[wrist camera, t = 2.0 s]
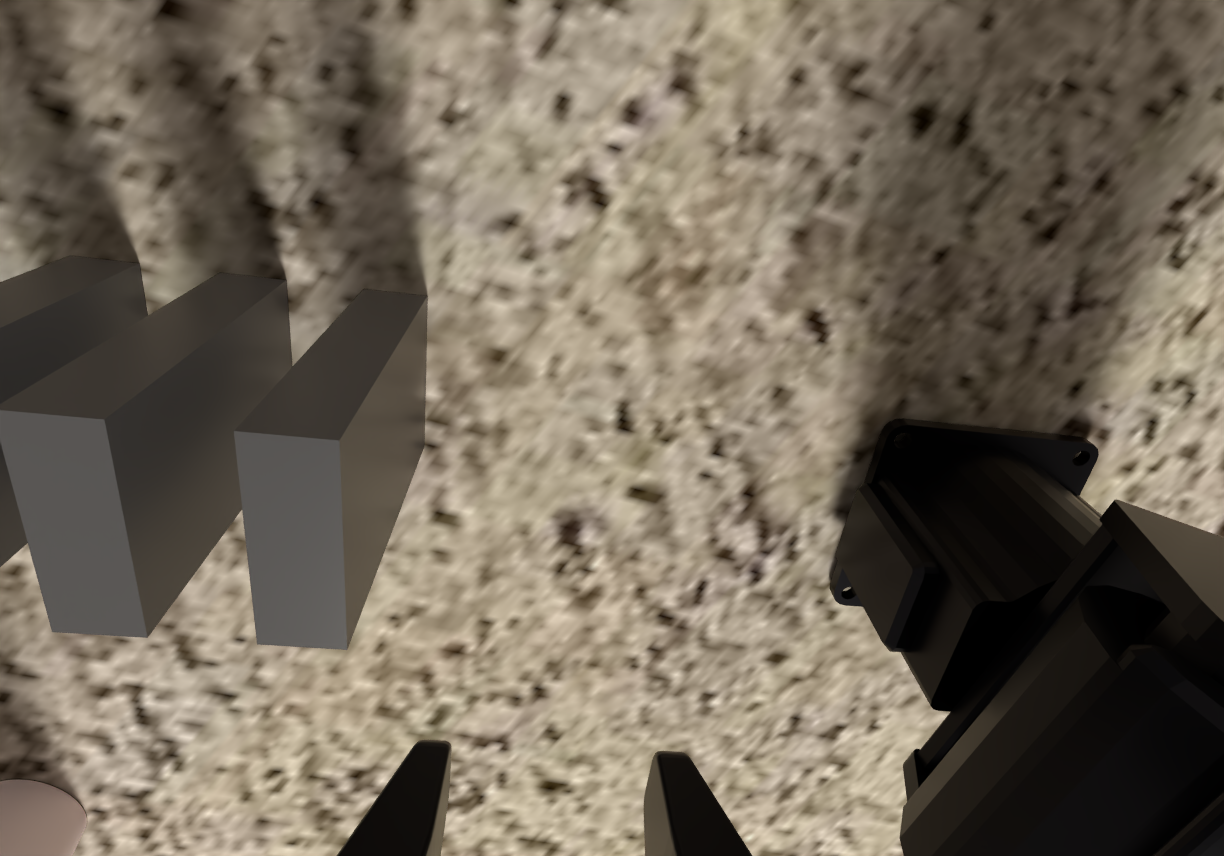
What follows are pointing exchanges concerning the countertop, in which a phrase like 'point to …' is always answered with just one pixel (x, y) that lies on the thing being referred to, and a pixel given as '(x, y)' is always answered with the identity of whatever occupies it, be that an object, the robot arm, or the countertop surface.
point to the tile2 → (142, 452)
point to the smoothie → (38, 820)
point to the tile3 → (57, 338)
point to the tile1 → (332, 469)
